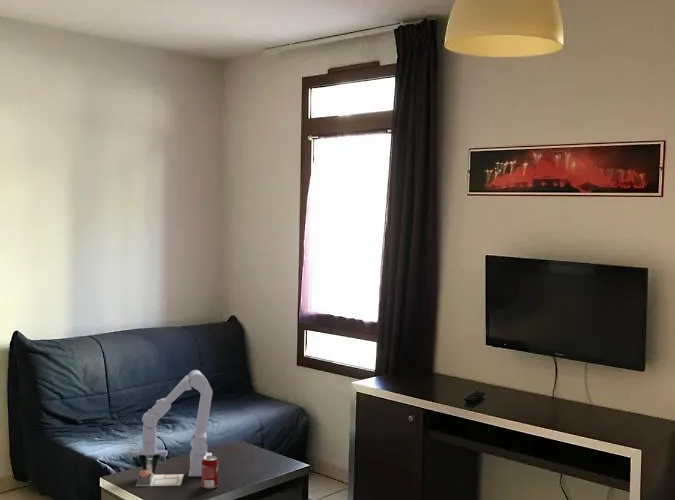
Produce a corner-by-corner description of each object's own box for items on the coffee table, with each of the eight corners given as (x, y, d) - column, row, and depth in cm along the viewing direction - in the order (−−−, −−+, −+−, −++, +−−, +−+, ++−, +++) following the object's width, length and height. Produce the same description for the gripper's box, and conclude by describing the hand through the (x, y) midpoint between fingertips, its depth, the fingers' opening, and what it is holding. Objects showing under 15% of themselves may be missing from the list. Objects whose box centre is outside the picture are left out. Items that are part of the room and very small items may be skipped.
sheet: (183, 474, 325) (183, 474, 325) (180, 485, 312) (180, 484, 312) (141, 475, 323) (140, 474, 323) (135, 486, 311) (135, 485, 311)
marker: (153, 475, 323) (153, 458, 322) (152, 478, 319) (152, 460, 319) (146, 476, 322) (146, 458, 322) (145, 478, 319) (145, 460, 319)
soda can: (214, 490, 308) (214, 461, 307) (198, 488, 309) (199, 459, 309) (220, 484, 314) (220, 456, 314) (205, 483, 316) (205, 454, 315)
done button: (149, 477, 316) (149, 469, 316) (148, 481, 312) (148, 472, 312) (140, 478, 315) (140, 469, 315) (139, 481, 312) (139, 472, 312)
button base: (151, 480, 317) (151, 473, 317) (149, 485, 312) (149, 478, 311) (139, 481, 316) (139, 473, 316) (136, 485, 311) (137, 478, 311)
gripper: (168, 437, 325) (168, 469, 325) (133, 438, 323) (133, 469, 324) (166, 442, 318) (166, 474, 318) (130, 443, 316) (130, 475, 317)
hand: (149, 472), depth 321 cm, fingers closed on marker, 3 cm apart
